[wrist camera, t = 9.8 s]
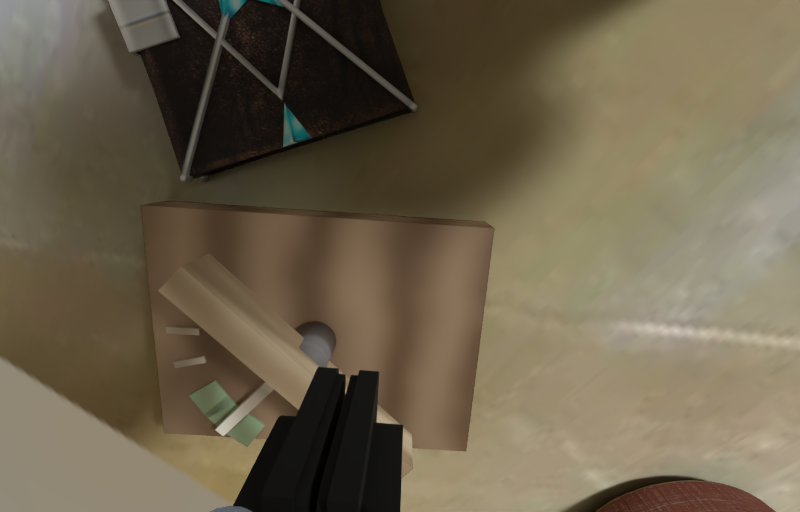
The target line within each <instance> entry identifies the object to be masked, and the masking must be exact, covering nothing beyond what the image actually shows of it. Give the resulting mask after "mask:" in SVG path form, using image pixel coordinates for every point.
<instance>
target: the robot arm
mask: <svg viewBox="0 0 800 512" xmlns="http://www.w3.org/2000/svg"><path fill="white" fill-rule="evenodd" d="M345 388H346V375H345V374H339V369H338V368H327V367H318V368H317V370H316V372H315V374H314V376H313V379H312V381H311V383H310V385H309V388H308V390H307V392H306V395H305V397H304V399H303V401H302V404H301V406H300V408H299V410H298V413H297V415H296V416H284V415H281V416H279V417H278V419H277V421H276V422H275V424H274V426H273V428H272V430H271V432H270V434H269V436H268V438H267V440H266V442H265V444H264V446H263V448H262V450H261V452H260V454H259V456H258V458H257V460H256V462H255V464H254V466H253V468H252V469H251V471H250V473H249V475H248V477H247V479H246V481H245V483H244V485H243V487H242V489H241V491H240V493H239V495H238V497H237V499H236V501H235V503H234V505H233V506H227V507H222V508H217V509H215V510H213V511H211V512H400V500H401V473H402V445H403V425H400V424H387V423H377V406H378V388H379V371H367V370H359V373H358V375H351V377H350V380H349V384H348V387H347V391H346V395H345Z"/></svg>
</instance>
